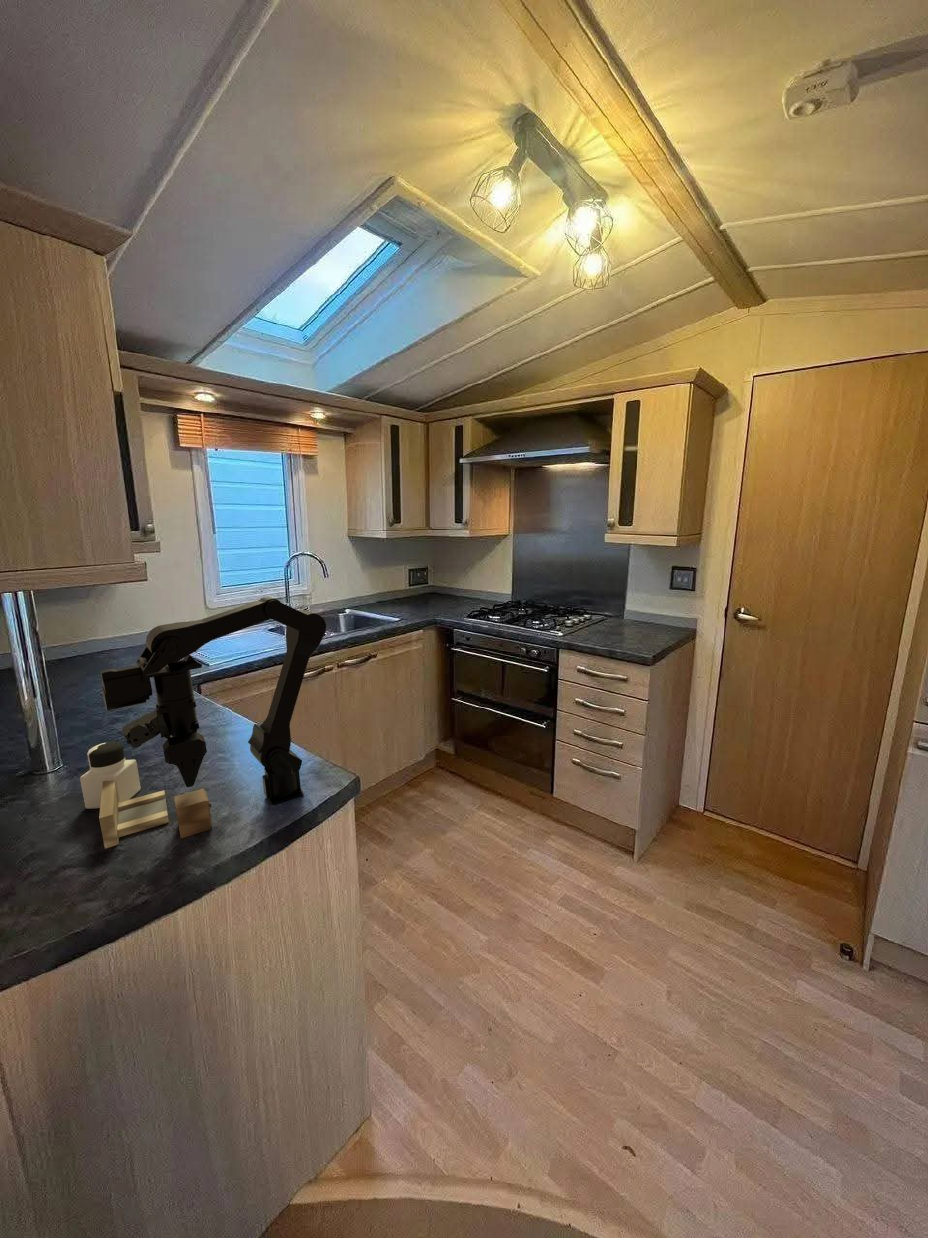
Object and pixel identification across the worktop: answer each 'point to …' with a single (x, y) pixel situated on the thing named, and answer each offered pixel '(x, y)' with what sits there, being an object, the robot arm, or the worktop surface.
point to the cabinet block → (193, 812)
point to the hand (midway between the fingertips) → (187, 775)
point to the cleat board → (129, 813)
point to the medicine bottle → (109, 774)
